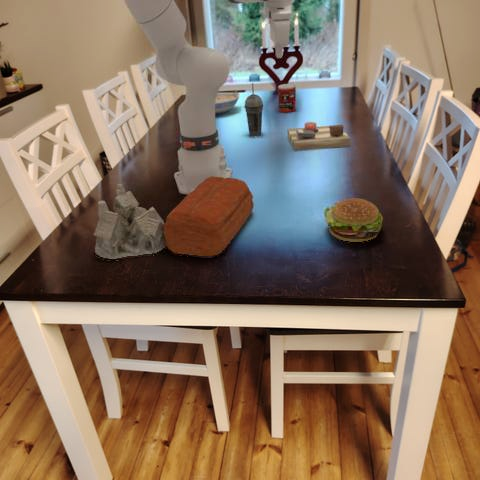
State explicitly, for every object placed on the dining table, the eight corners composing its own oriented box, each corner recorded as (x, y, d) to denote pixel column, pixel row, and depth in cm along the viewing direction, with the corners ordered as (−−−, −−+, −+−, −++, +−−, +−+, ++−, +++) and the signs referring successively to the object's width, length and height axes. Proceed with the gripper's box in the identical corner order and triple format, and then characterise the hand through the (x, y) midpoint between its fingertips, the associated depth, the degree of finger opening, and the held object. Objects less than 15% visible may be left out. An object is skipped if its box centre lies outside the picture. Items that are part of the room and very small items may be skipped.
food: (328, 215, 122) (329, 188, 117) (384, 222, 117) (387, 193, 113) (316, 242, 111) (317, 212, 107) (377, 250, 106) (380, 219, 102)
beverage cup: (265, 131, 186) (263, 80, 176) (264, 137, 180) (261, 84, 170) (246, 132, 187) (243, 80, 177) (245, 138, 181) (242, 85, 170)
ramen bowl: (182, 119, 209) (180, 100, 205) (198, 105, 228) (196, 88, 224) (236, 119, 203) (235, 100, 199) (248, 105, 222) (247, 88, 218)
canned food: (276, 113, 208) (276, 87, 202) (280, 108, 214) (280, 83, 209) (293, 113, 206) (293, 87, 200) (297, 108, 212) (297, 83, 207)
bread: (257, 210, 127) (256, 174, 122) (221, 262, 106) (216, 221, 100) (206, 204, 132) (202, 170, 127) (161, 253, 111) (154, 214, 106)
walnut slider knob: (343, 134, 166) (343, 126, 164) (330, 135, 166) (331, 127, 164) (341, 132, 168) (342, 124, 166) (329, 133, 168) (330, 125, 166)
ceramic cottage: (86, 250, 114) (75, 195, 106) (140, 226, 124) (134, 174, 116) (124, 275, 105) (115, 217, 97) (179, 247, 115) (175, 193, 107)
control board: (349, 146, 165) (350, 136, 163) (293, 150, 165) (293, 141, 163) (339, 132, 179) (339, 123, 177) (287, 136, 179) (287, 127, 177)
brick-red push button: (317, 131, 171) (317, 125, 170) (305, 132, 171) (305, 126, 170) (315, 128, 175) (315, 121, 174) (303, 128, 175) (303, 122, 174)
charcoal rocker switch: (314, 137, 165) (315, 133, 165) (298, 136, 165) (298, 132, 164) (312, 133, 169) (313, 130, 168) (296, 132, 168) (296, 129, 168)
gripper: (265, 9, 157) (266, 53, 164) (271, 14, 139) (272, 63, 146) (283, 8, 157) (284, 52, 164) (292, 13, 139) (292, 61, 146)
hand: (278, 57), depth 155 cm, fingers closed
